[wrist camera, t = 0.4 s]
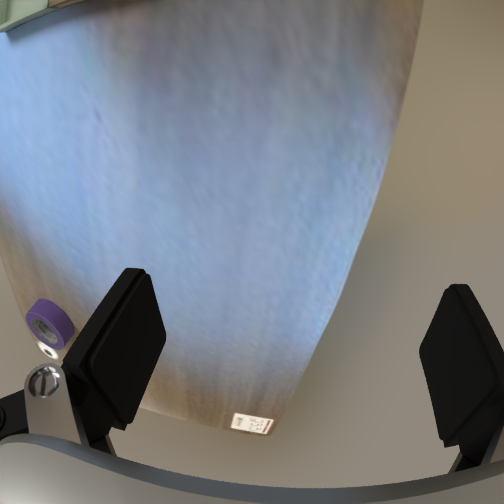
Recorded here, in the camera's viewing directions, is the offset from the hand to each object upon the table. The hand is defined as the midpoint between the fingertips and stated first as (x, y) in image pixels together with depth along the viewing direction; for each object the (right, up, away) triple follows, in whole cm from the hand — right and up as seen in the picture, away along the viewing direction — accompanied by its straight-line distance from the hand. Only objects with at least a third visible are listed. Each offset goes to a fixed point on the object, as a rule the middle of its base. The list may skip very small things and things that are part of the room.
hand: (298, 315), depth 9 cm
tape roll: (-48, -13, +52) cm, 72 cm away
